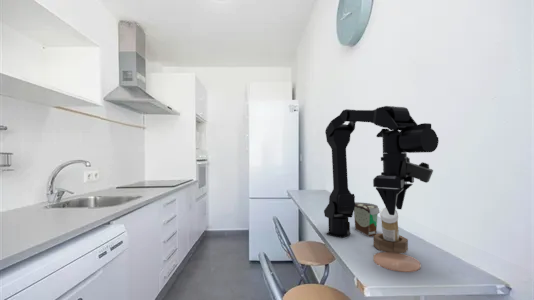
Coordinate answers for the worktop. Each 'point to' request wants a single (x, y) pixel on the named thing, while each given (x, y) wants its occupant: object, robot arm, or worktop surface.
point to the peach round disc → (396, 262)
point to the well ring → (390, 244)
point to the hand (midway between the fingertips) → (395, 211)
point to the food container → (366, 218)
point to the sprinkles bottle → (389, 225)
